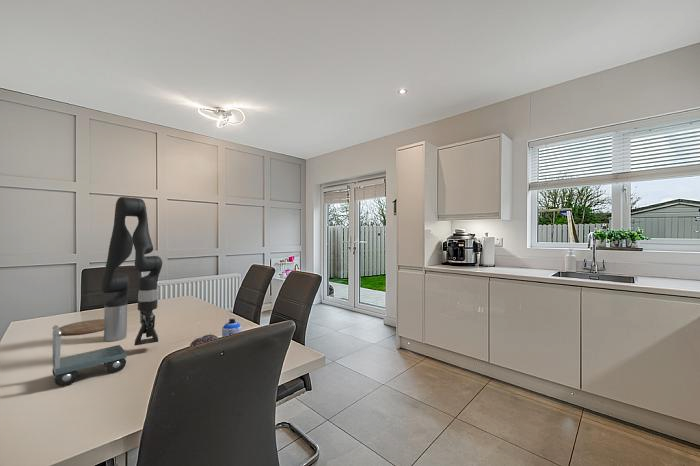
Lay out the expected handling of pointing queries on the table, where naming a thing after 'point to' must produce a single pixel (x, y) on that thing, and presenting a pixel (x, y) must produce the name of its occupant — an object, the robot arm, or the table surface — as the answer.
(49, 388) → the table surface
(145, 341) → the triangular clip stand
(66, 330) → the trivet
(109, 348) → the trolley
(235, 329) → the aerosol can
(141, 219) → the robot arm
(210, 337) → the decorative flower
